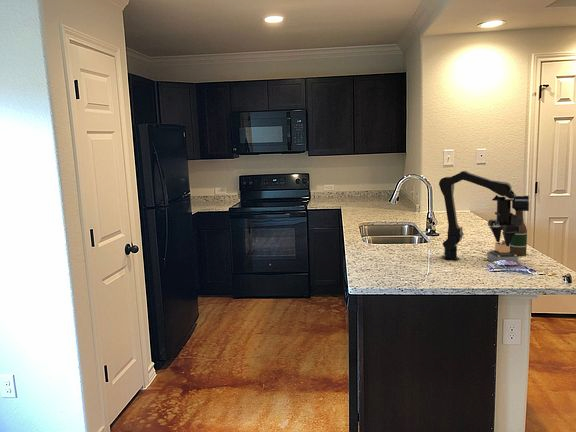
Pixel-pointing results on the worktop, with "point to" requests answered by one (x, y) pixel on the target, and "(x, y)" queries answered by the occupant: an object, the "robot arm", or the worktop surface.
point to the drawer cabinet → (501, 256)
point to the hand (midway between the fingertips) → (502, 244)
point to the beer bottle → (519, 238)
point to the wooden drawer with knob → (502, 248)
